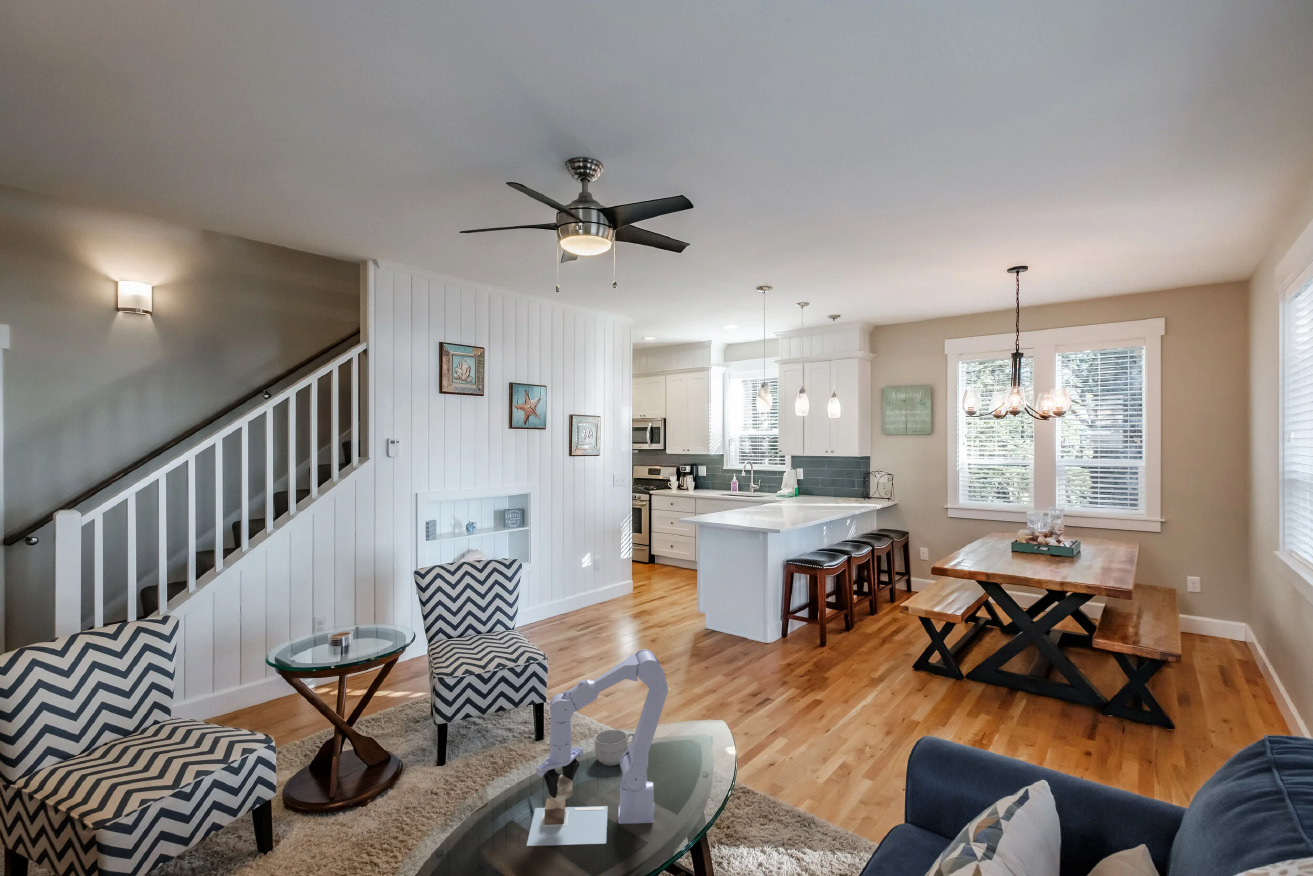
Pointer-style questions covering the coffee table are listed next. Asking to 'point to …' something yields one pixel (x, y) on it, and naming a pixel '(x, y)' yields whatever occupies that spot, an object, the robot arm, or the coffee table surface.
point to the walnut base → (554, 812)
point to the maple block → (563, 789)
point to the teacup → (611, 746)
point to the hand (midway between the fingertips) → (560, 792)
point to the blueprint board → (570, 827)
